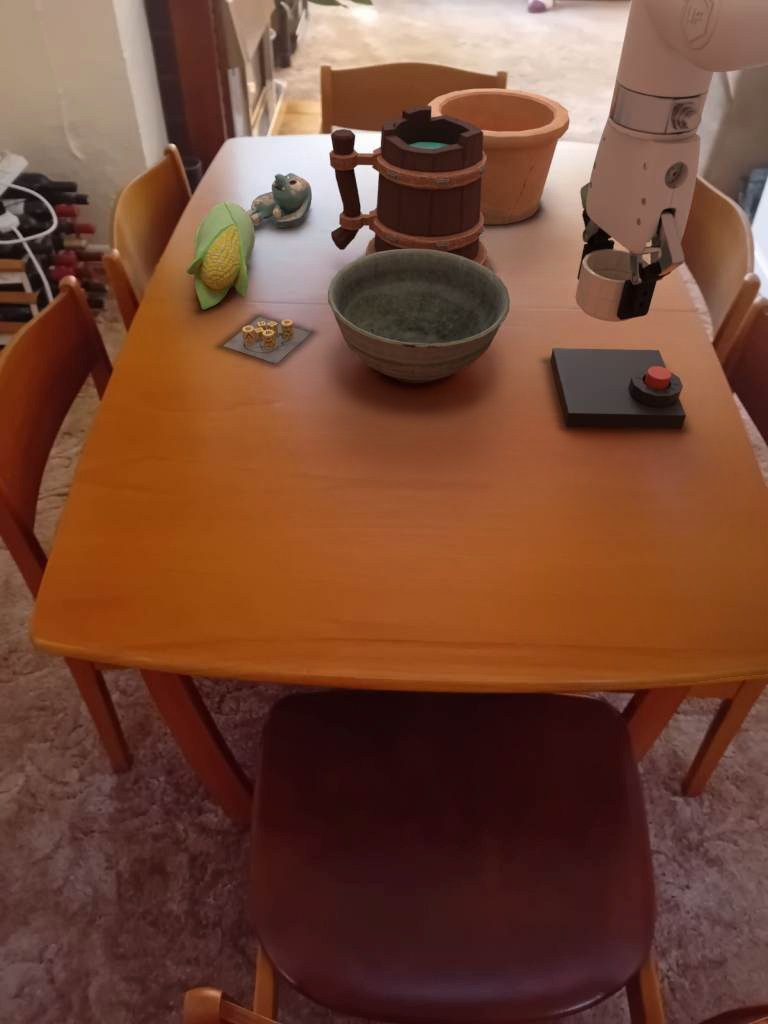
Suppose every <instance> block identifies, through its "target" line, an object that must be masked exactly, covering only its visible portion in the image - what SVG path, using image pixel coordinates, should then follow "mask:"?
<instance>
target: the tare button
mask: <svg viewBox="0 0 768 1024" xmlns="http://www.w3.org/2000/svg"><path fill="white" fill-rule="evenodd" d="M671 372H672V371H670V369H668V368H667V367H666V368H664V367H660V366H654V367H651V368H649V369H648V371H647V375H646V378H645V385H647V386H648V387H650V388H653V389H657V390H664V389H666V388H667V387H668V385H669V382H670V379H671Z"/></svg>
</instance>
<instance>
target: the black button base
mask: <svg viewBox="0 0 768 1024" xmlns="http://www.w3.org/2000/svg"><path fill="white" fill-rule="evenodd" d="M549 361H550V365H551V370H552V374H553V378H554V382H555V386H556V391H557V395H558V399H559V403H560V407H561V412H562V415H563V420H564V424H565V427H571V428H572V427H573V428H574V427H575V428H579V427H580V428H581V427H582V428H623V429H624V428H626V429H627V428H628V429H629V428H631V429H638V428H639V429H677V430H679V429H682V428H683V425H684V423H685V420H686V418H687V413H686V411H685V409H684V407H683V404H682V401H681V400H680V396H681V393H682V390H683V387H684V385H683V382H682V380H681V378H680V377H679V376H678V375H676V374H675V373H674V372H672V371H670V372H671V379H670V382H669V385H668V387H667V388H666V389H664V390H657V389H653V388H650V387H648V386H647V385H645V378H646V375H647V371H648V369H649V368H651V367H654V366H660V367H664V368H666V369H667V366H666V364H665V361H664V359H663V357H662V355H661V352H660V350H659V349H625V348H623V349H622V348H621V349H618V348H617V349H616V348H615V349H614V348H608V349H607V348H567V347H566V348H563V347H562V348H561V347H560V348H559V347H553V348H552V349H551V355H550V359H549Z"/></svg>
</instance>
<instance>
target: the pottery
mask: <svg viewBox="0 0 768 1024" xmlns="http://www.w3.org/2000/svg"><path fill="white" fill-rule="evenodd" d="M427 106H431V109H432V110H431V117H437V116H443V115H447V116H450V117H453V118H456V119H459V120H462V121H465V122H468V123H471V124H473V125H474V126H476V127H477V128H479V129H480V130H482V131H483V152H484V153H485V155H486V156H487V158H486V171H485V173H484V174H483V175H482V181H481V206H480V211H481V213H482V215H483V217H484V225H487V226H489V225H508V224H513V223H514V224H515V223H518V222H521V221H524V220H526V219H529V218H530V217H532V216H534V214H535V213H536V212H537V211H538V209H539V207H540V202H541V199H542V196H543V193H544V188H545V186H546V183H547V180H548V175H549V172H550V169H551V166H552V163H553V158H554V155H555V152H556V149H557V146H558V142H559V139H562V137H563V136H564V135H565V134H566V132H567V131H568V130H569V127H570V122H571V119H570V116H569V110H568V109H567V108H566V107H564V106H563V105H562V104H561V103H559V101H555V100H553V99H551V98H548V97H546V96H543V95H540V94H536V93H532V92H528V91H523V90H519V89H518V90H517V89H509V88H499V87H497V88H496V87H495V88H493V87H491V88H490V87H489V88H469V89H462V90H455V91H451V92H448V93H446V94H445V93H444V94H442V95H439V96H437V97H435V98H434V99H432V100H431V101H430V102H429V103H428V104H427Z"/></svg>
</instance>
